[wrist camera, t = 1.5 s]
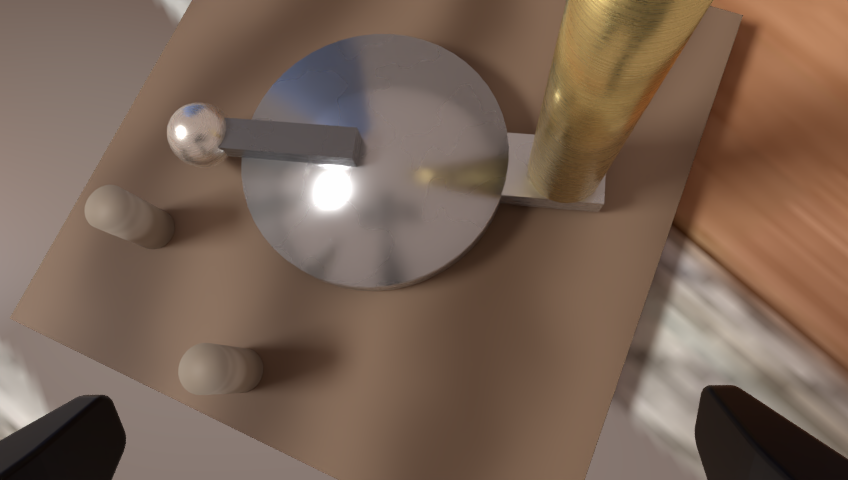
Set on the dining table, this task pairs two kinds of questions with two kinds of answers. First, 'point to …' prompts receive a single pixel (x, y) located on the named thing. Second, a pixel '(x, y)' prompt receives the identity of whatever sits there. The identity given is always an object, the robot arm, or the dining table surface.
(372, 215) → the dial
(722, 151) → the dining table surface
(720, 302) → the dining table surface
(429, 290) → the walnut board
